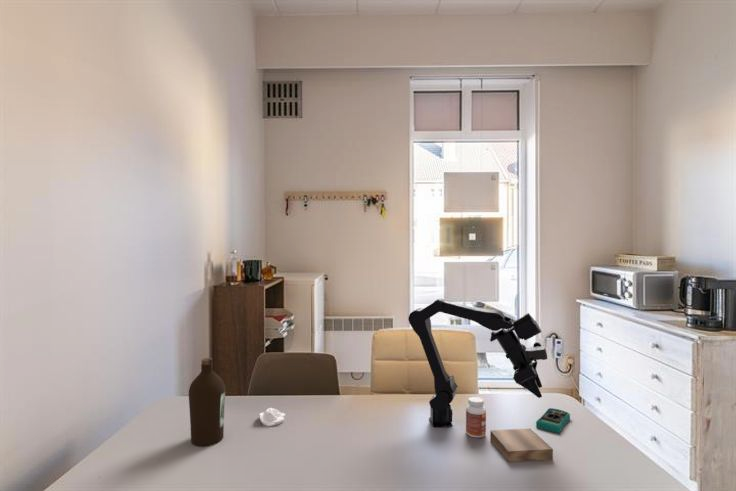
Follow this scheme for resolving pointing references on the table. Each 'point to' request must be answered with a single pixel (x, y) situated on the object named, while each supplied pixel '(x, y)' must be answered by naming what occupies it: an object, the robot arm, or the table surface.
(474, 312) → the robot arm
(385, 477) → the table surface
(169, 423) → the table surface
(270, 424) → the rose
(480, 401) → the pill bottle
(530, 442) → the walnut base
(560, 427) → the digital multimeter
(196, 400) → the olive oil
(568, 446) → the table surface
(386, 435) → the table surface
